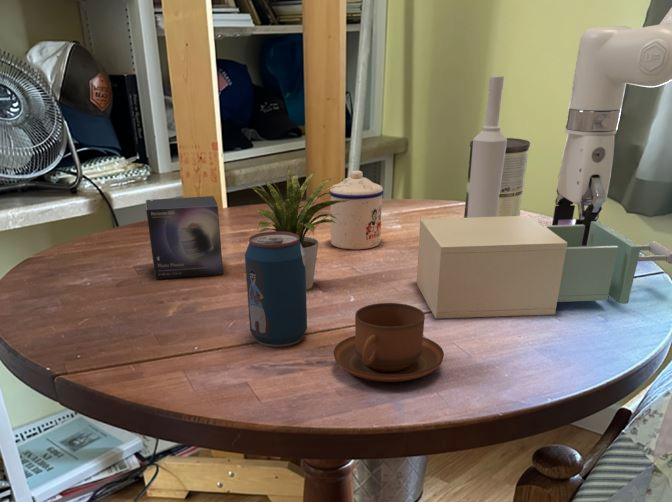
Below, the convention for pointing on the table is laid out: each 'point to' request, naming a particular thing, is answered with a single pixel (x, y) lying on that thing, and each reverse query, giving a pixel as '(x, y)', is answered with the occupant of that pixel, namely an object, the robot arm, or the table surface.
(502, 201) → the coffee can
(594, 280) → the drawer
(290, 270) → the soda can
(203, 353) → the table surface
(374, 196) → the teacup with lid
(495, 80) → the bottle
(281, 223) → the house plant
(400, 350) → the cup and saucer
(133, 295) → the table surface
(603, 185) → the robot arm
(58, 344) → the table surface
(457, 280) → the beige box
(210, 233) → the small box
